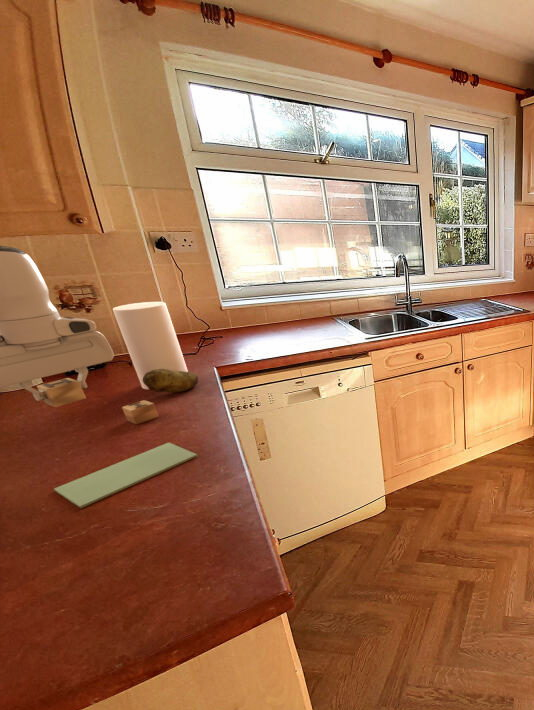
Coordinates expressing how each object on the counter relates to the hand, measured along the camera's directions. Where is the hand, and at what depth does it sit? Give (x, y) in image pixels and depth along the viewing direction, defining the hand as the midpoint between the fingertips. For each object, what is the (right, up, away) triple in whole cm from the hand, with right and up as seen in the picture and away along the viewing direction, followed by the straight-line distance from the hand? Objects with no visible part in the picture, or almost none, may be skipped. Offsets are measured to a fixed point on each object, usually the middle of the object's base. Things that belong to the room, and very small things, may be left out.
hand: (63, 393), depth 89 cm
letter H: (0, -1, +1) cm, 2 cm away
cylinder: (-17, +3, +48) cm, 51 cm away
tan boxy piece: (-3, -7, +23) cm, 24 cm away
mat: (+15, -16, -1) cm, 22 cm away
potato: (-8, 0, +40) cm, 41 cm away
